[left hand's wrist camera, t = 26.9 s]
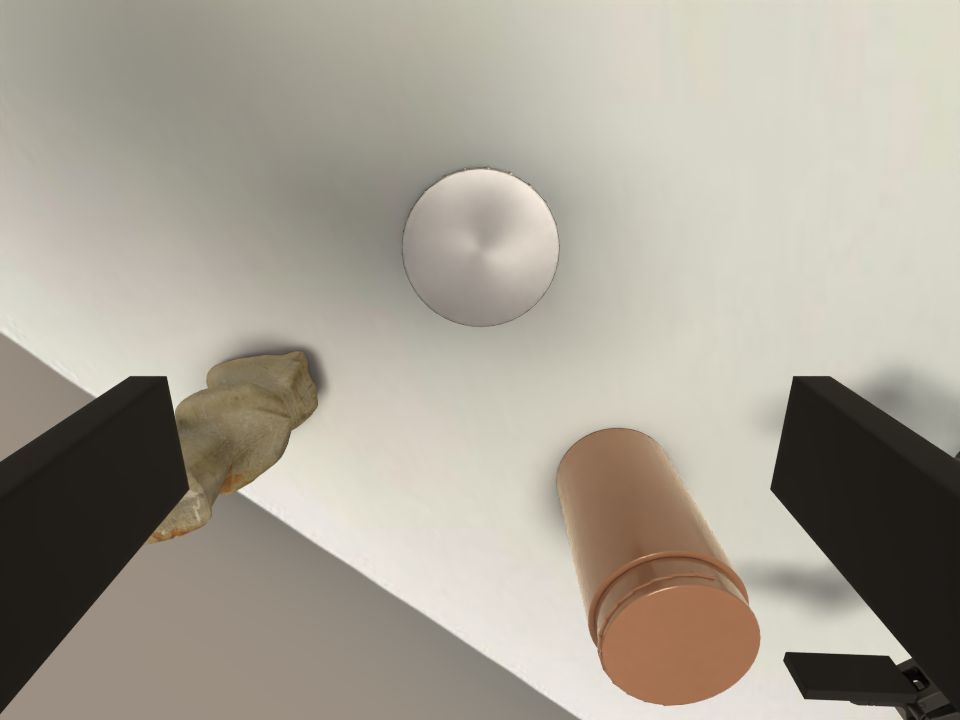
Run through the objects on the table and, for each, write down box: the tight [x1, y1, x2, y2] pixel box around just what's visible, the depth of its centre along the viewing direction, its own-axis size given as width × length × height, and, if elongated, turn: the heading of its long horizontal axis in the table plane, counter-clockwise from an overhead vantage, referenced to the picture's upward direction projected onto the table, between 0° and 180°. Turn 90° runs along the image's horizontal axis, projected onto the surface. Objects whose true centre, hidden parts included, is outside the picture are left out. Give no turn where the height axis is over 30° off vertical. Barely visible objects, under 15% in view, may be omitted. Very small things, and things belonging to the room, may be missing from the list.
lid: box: [402, 166, 560, 327], centre depth 36 cm, size 10×10×2 cm
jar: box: [557, 428, 760, 706], centre depth 35 cm, size 8×8×15 cm
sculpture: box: [143, 351, 318, 545], centre depth 33 cm, size 6×7×15 cm
